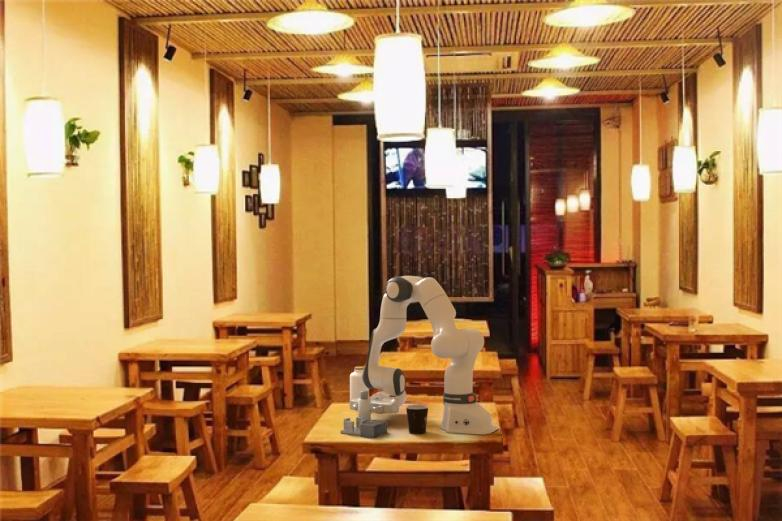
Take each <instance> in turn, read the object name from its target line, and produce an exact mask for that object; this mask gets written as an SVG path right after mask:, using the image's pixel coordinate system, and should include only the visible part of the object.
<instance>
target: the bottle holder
mask: <svg viewBox="0 0 782 521" xmlns="http://www.w3.org/2000/svg"><path fill="white" fill-rule="evenodd" d="M355 421H356V422H355ZM355 421H353V420H351V417H345V418H344V419H343V429H340V434H345V435H353V436H359V437H362V438H370V439H376V438H378V437H380V436H383V435H386V434H387V433H388V420H381V419H380V420H379V419H371V421H369V422H366V420H364V418H362V417H358V416H357V417H356V418H355Z"/></svg>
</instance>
